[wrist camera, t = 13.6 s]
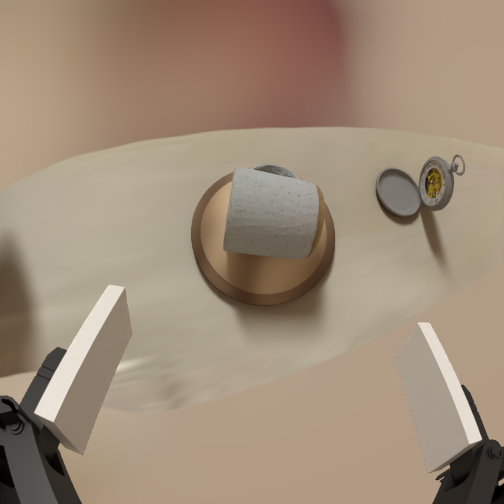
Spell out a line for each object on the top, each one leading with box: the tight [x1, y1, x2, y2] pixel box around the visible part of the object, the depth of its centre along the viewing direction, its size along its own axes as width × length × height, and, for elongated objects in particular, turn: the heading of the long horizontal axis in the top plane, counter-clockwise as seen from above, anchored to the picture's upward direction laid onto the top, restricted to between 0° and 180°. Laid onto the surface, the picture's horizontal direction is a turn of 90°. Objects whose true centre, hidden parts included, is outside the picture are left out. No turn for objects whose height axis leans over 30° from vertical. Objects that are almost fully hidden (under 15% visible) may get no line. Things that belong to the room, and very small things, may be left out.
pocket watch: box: [376, 154, 465, 217], centre depth 29 cm, size 8×8×10 cm
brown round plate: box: [191, 168, 335, 305], centre depth 31 cm, size 15×15×1 cm
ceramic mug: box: [223, 164, 325, 259], centre depth 27 cm, size 11×8×8 cm
